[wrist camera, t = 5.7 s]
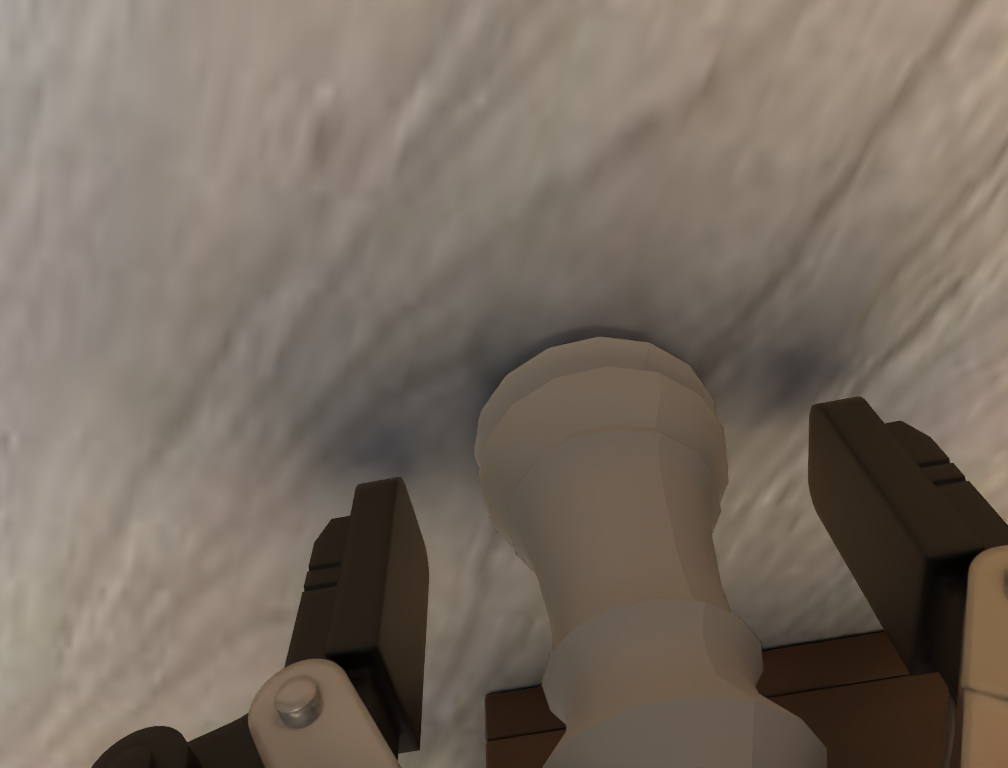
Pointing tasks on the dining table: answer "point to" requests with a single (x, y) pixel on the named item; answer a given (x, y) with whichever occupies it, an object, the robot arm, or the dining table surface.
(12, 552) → the dining table surface
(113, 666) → the dining table surface
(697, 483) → the rook chess piece
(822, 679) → the walnut shelf
